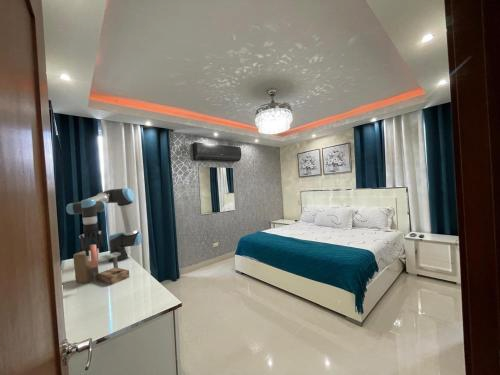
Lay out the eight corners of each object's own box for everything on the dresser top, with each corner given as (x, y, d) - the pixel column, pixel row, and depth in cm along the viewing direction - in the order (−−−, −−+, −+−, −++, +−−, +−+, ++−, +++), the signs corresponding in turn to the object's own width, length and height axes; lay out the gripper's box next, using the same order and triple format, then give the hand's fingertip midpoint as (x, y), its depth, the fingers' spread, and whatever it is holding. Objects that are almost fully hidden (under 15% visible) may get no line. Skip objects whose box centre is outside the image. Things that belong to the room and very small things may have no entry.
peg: (96, 265, 145) (94, 243, 144) (99, 265, 143) (97, 244, 142) (89, 267, 141) (87, 245, 141) (92, 268, 139) (90, 246, 139)
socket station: (116, 272, 167) (115, 252, 166) (132, 276, 157) (130, 254, 157) (93, 281, 153) (91, 259, 152) (108, 286, 143) (106, 262, 143)
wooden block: (87, 283, 151) (84, 254, 150) (75, 282, 153) (72, 254, 152) (99, 276, 160) (97, 249, 160) (88, 276, 162) (85, 249, 162)
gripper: (101, 220, 151) (104, 254, 151) (71, 225, 136) (75, 263, 136) (107, 221, 147) (110, 255, 148) (77, 226, 132) (81, 264, 133)
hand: (93, 259), depth 142 cm, fingers closed on peg, 4 cm apart
